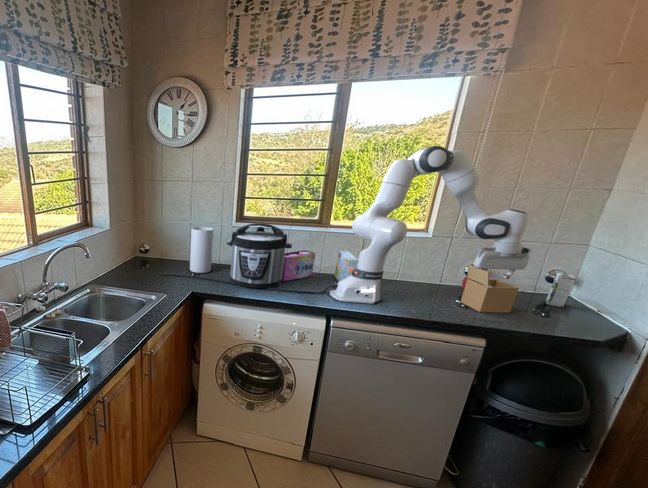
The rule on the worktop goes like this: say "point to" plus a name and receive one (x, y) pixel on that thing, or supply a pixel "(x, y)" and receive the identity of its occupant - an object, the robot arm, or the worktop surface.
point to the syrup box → (560, 289)
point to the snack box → (345, 265)
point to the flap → (478, 275)
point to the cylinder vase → (201, 249)
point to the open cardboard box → (489, 296)
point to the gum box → (298, 265)
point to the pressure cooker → (257, 256)
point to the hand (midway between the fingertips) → (495, 278)
